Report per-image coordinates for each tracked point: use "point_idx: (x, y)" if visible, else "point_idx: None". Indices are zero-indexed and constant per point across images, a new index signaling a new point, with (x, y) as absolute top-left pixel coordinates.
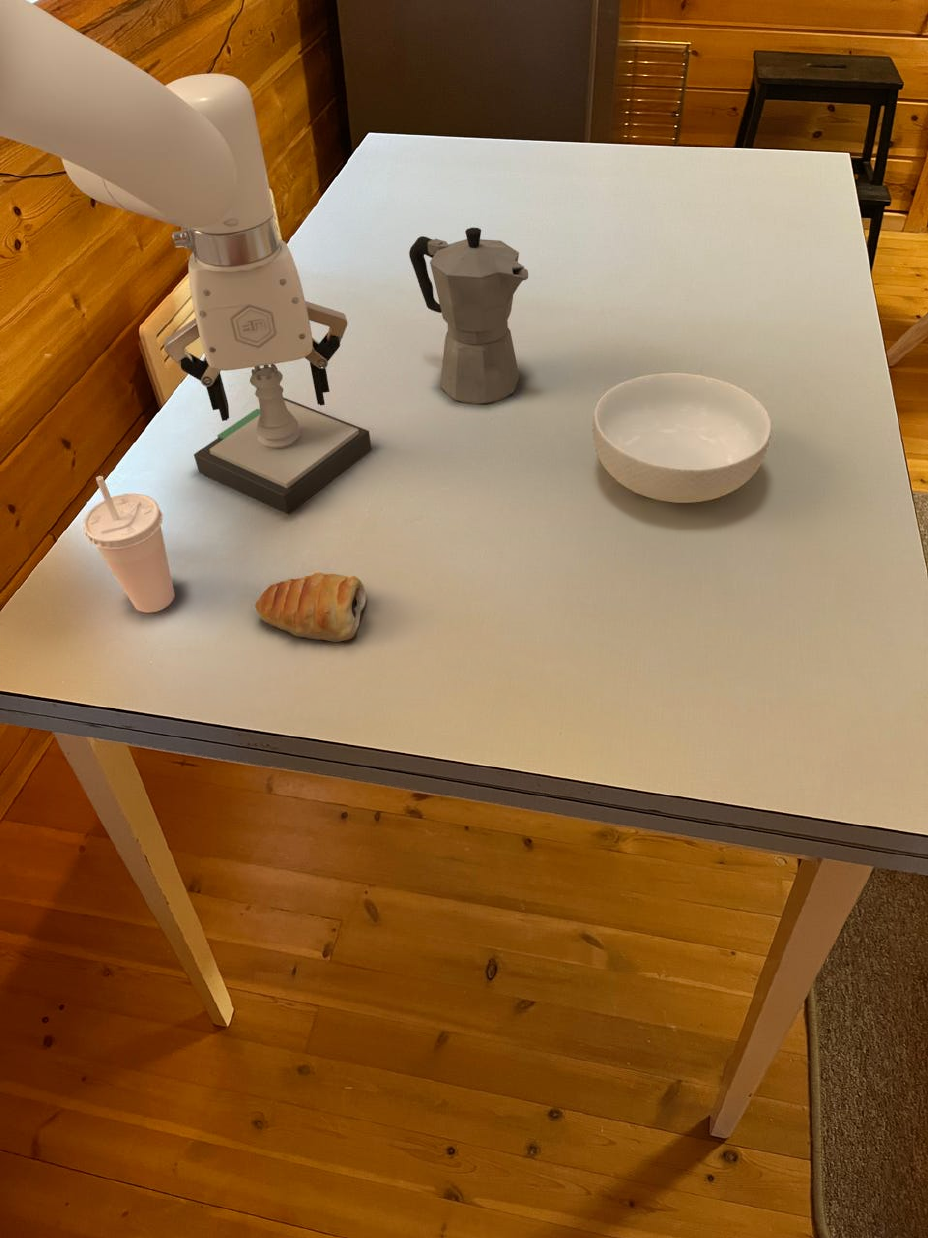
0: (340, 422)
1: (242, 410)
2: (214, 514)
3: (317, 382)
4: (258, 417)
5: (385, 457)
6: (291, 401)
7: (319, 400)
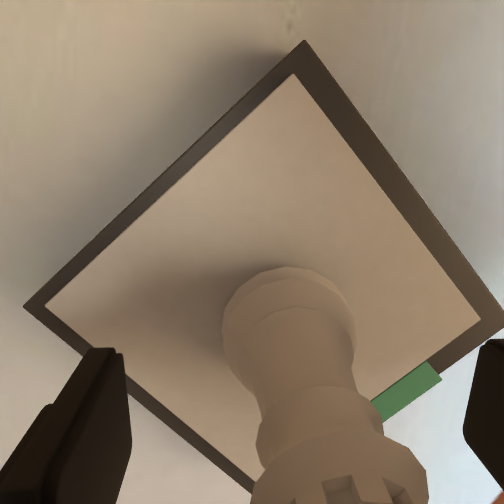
0: None
1: None
2: (474, 120)
3: (59, 425)
4: None
5: (14, 240)
6: (235, 476)
7: (103, 357)
